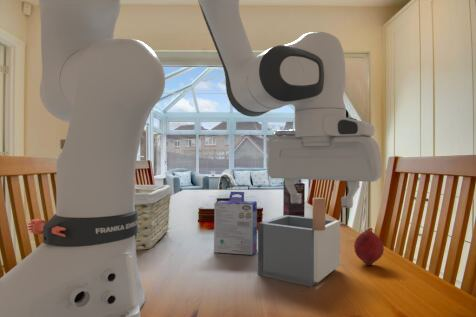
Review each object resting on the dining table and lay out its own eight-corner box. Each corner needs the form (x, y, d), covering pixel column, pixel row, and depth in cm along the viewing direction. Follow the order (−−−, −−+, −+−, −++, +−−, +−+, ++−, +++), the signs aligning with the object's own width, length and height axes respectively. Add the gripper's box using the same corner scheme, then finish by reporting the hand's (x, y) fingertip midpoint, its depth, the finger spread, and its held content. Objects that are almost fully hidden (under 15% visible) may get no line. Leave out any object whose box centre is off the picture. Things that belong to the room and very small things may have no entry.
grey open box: (311, 286, 58) (311, 230, 58) (257, 274, 64) (258, 223, 64) (334, 268, 68) (334, 220, 68) (285, 259, 74) (285, 215, 74)
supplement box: (305, 238, 94) (305, 183, 94) (288, 239, 94) (288, 183, 94) (298, 232, 103) (298, 181, 103) (282, 232, 102) (282, 181, 103)
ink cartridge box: (257, 249, 82) (257, 191, 83) (253, 256, 77) (254, 193, 77) (219, 247, 85) (219, 190, 85) (213, 253, 79) (213, 192, 79)
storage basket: (151, 252, 80) (152, 191, 80) (85, 251, 80) (85, 191, 81) (172, 231, 104) (172, 184, 104) (121, 231, 104) (121, 184, 105)
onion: (371, 271, 67) (371, 231, 67) (348, 263, 72) (348, 226, 72) (389, 266, 70) (389, 228, 70) (365, 259, 75) (365, 223, 75)
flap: (322, 283, 57) (322, 199, 57) (310, 280, 58) (310, 198, 59) (343, 265, 67) (343, 194, 67) (332, 263, 68) (332, 193, 68)
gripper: (260, 130, 62) (261, 203, 62) (375, 122, 51) (375, 213, 51) (276, 131, 68) (277, 199, 68) (384, 125, 56) (384, 207, 56)
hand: (320, 205), depth 59 cm, fingers open, 8 cm apart
